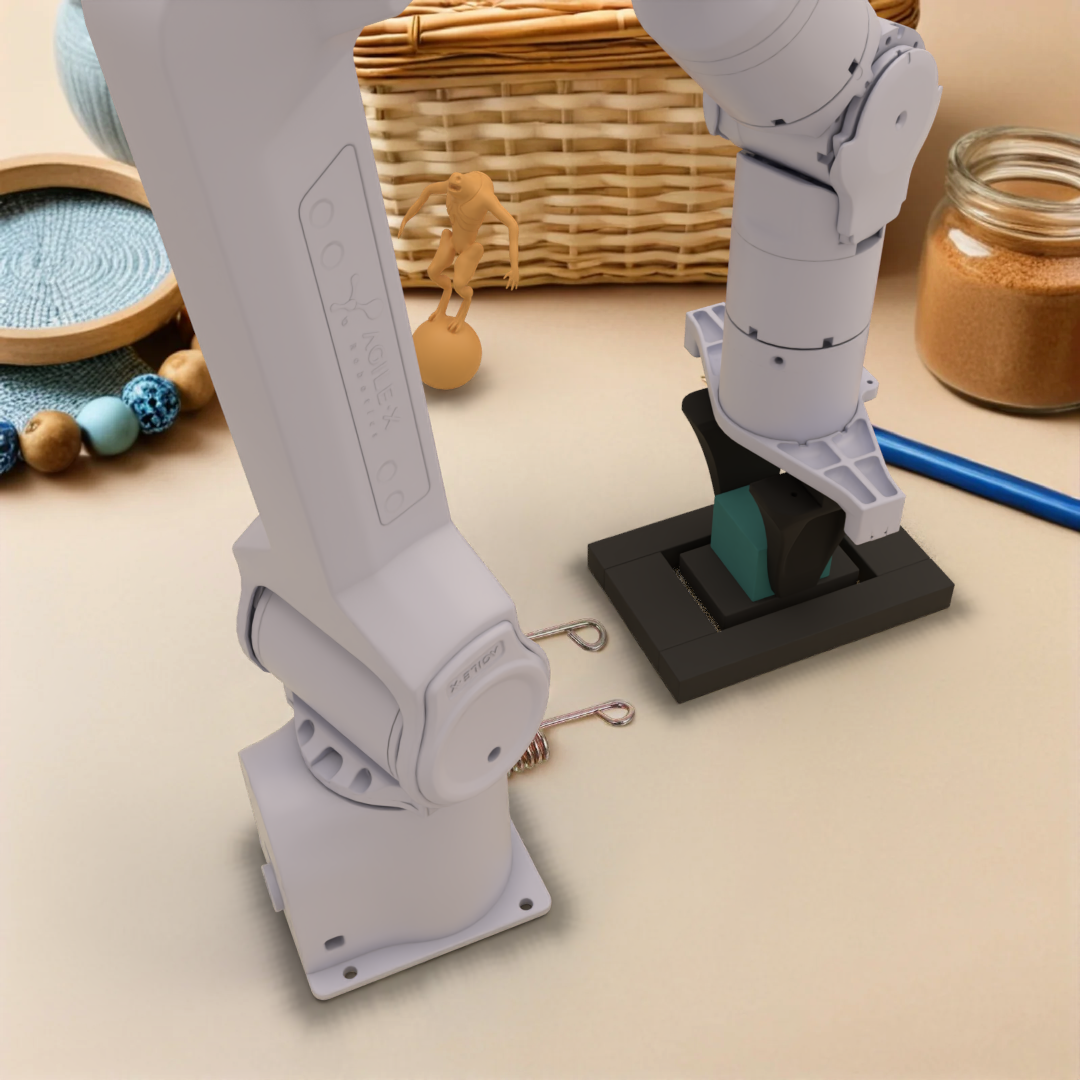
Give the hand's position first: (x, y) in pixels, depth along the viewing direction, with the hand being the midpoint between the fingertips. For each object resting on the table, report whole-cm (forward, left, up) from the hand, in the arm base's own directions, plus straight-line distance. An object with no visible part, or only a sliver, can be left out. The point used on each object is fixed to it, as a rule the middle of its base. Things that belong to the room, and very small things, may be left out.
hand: (768, 555), depth 66 cm
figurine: (-7, +21, -2) cm, 23 cm away
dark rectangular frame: (0, 0, -2) cm, 2 cm away
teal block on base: (0, 0, -2) cm, 2 cm away
